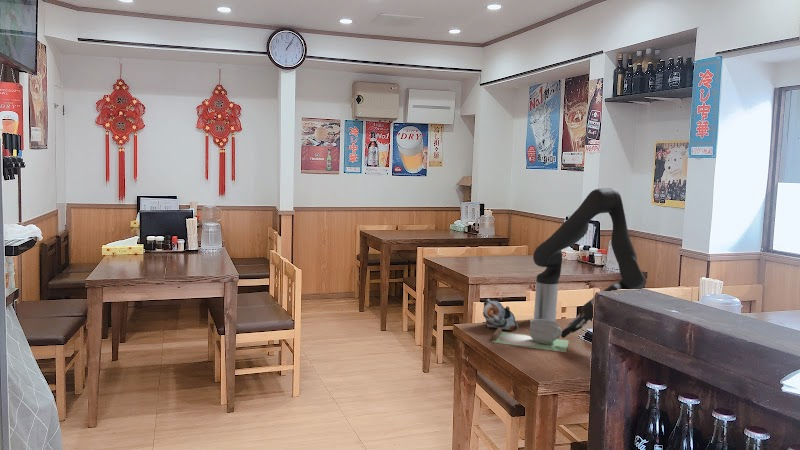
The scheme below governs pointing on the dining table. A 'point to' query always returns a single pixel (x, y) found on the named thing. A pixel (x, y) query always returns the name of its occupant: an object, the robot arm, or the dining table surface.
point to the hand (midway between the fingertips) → (561, 335)
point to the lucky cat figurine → (498, 316)
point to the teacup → (544, 331)
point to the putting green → (527, 341)
